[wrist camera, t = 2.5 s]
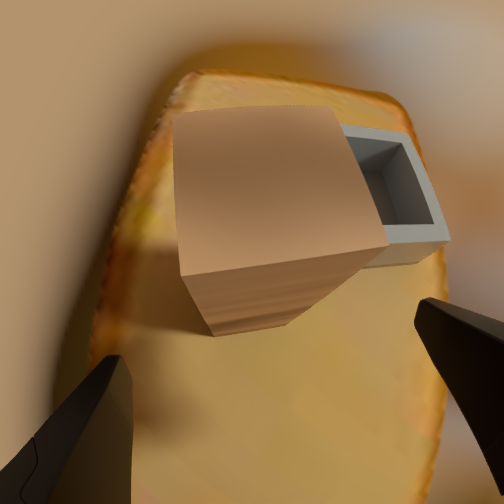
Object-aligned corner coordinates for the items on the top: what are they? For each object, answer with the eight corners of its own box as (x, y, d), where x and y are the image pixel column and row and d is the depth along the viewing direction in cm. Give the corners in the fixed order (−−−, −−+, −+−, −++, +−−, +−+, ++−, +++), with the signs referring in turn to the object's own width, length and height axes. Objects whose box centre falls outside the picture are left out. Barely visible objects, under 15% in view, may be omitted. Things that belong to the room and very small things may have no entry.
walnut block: (285, 325, 18) (389, 245, 6) (214, 337, 17) (181, 276, 5) (271, 259, 20) (329, 106, 8) (204, 268, 19) (172, 114, 7)
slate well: (416, 263, 20) (451, 240, 16) (306, 273, 19) (327, 246, 15) (385, 166, 24) (407, 133, 20) (287, 161, 23) (298, 121, 19)
